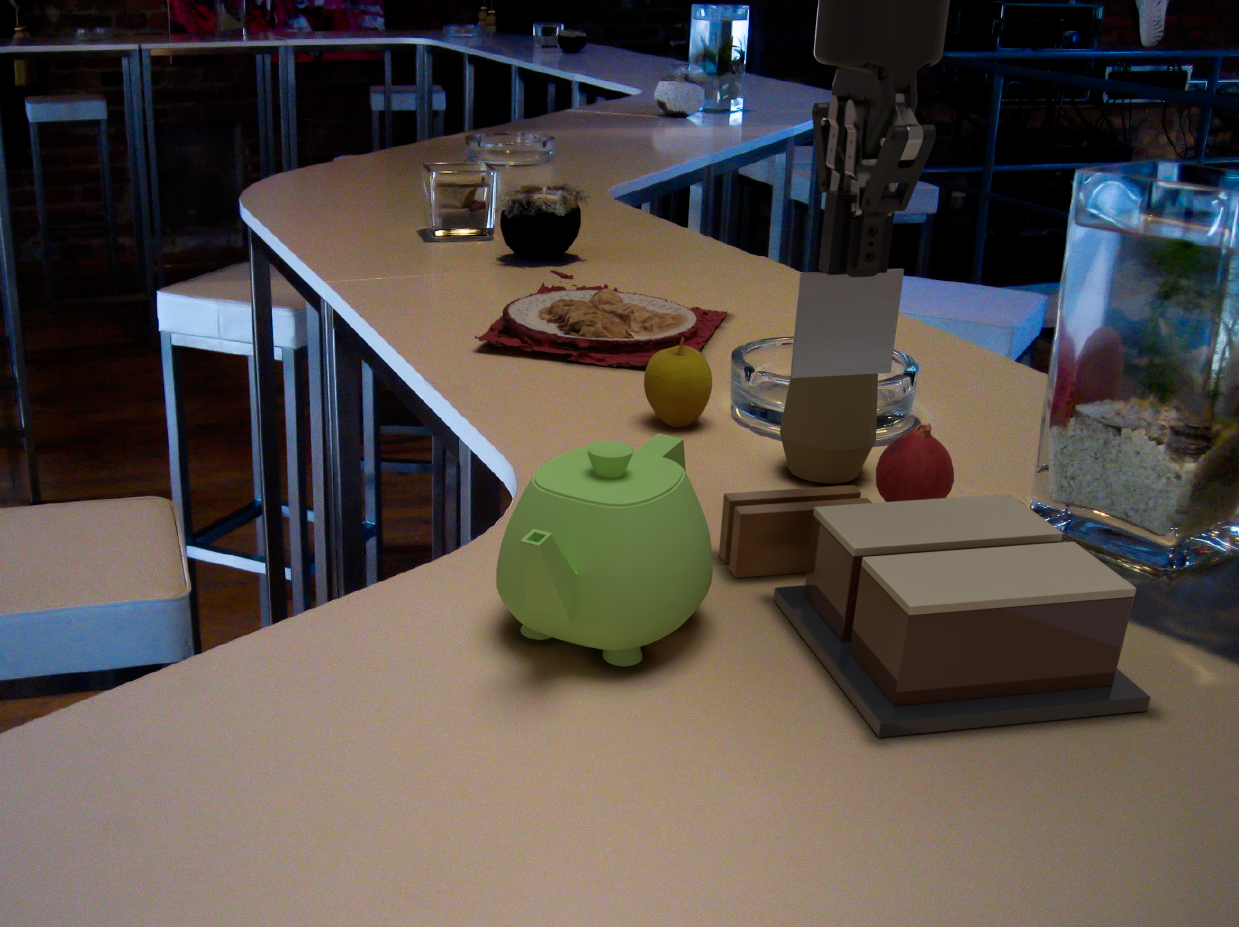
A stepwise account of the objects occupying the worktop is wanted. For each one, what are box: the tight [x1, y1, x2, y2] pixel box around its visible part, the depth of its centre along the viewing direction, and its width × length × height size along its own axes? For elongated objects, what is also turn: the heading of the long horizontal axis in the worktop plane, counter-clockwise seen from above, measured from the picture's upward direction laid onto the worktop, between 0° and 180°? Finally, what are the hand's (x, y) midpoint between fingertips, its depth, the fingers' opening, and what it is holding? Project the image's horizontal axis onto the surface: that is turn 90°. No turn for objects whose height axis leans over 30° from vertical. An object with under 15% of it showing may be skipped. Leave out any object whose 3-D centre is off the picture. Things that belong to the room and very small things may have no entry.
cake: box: [773, 493, 1151, 738], centre depth 79 cm, size 17×17×8 cm
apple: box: [643, 337, 713, 428], centre depth 118 cm, size 6×6×8 cm
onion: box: [875, 422, 955, 502], centre depth 98 cm, size 6×6×8 cm
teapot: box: [495, 433, 714, 667], centre depth 81 cm, size 20×13×13 cm
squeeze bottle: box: [779, 374, 879, 484], centre depth 105 cm, size 8×8×18 cm
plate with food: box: [474, 269, 728, 368], centre depth 146 cm, size 24×26×4 cm
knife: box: [789, 190, 905, 378], centre depth 82 cm, size 7×2×12 cm, turn 100°
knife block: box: [718, 484, 873, 579], centre depth 92 cm, size 10×4×5 cm, turn 100°
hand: (852, 270), depth 82 cm, fingers closed on knife, 2 cm apart
